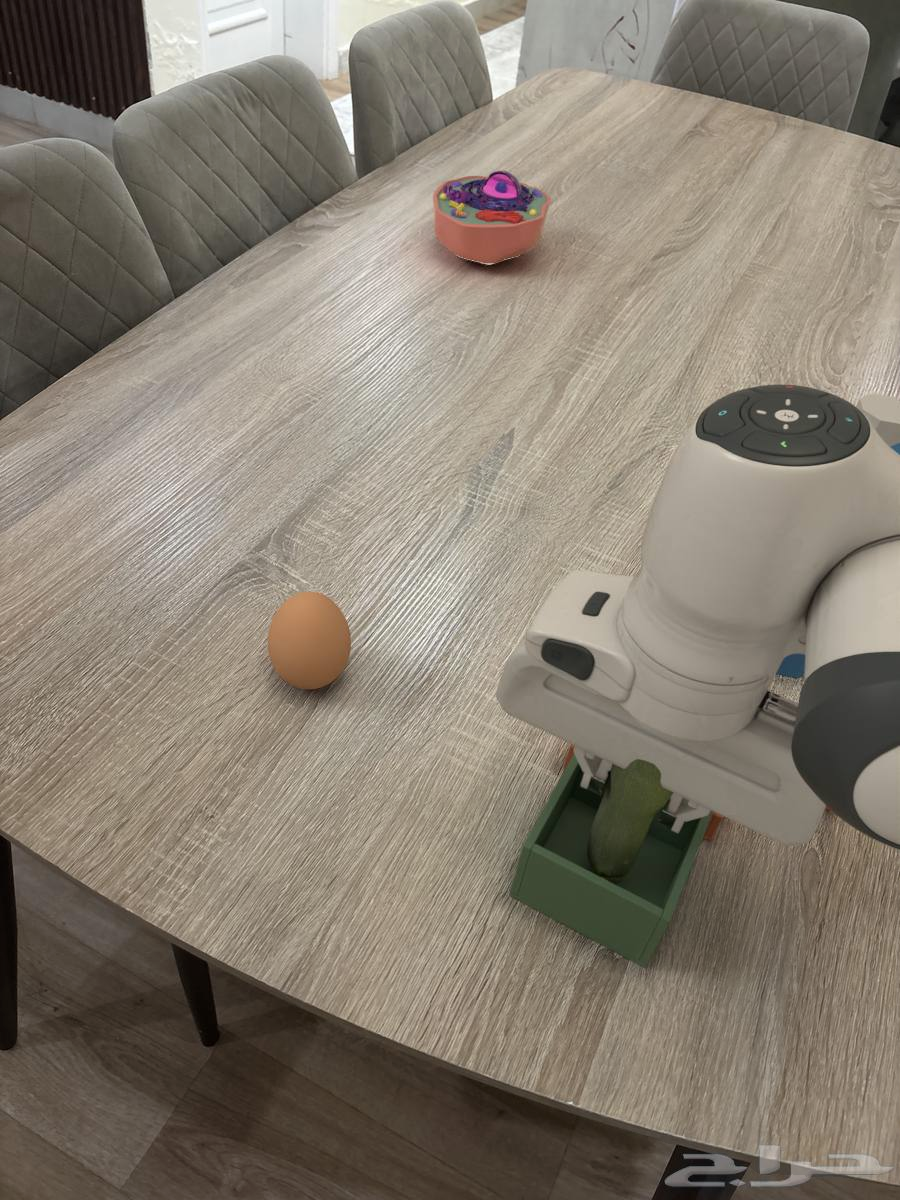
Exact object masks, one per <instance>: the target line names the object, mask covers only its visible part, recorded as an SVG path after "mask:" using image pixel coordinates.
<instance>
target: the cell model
mask: <svg viewBox="0 0 900 1200" xmlns="http://www.w3.org/2000/svg"><path fill="white" fill-rule="evenodd" d="M432 201H433V202H432V209H433V218H434V223H433V224H434V226H433V227H434V234H435V236H436V238H437V240H438V241H439V242H440V243H441V244H442V245H443V246H444V247H445V248H446V249H447V250H448V251H449V252H451V253H452V254H453V253H454V254H456V255H458V256H460V257H463V258H466V259H470V260H474V261H479V262H483V263H497V262H500V261H502V260H504V259H508V258H512V257H516V256H519V255H522V254H524V253H526V254H527V253H529V252H530V251H531V250H533V248H535V247H536V246H537V245H538V244H539V243H540V240H541V238H542V233H543V230H544V227H545V222H546V218H547V215H548V211H549V209H550V205H551V203H552V202H551V197H550V196H549V195H548V194H547V193H546V192H545V191H543V190H542V189H541V188H538V187H536V186H534V185H531V184H527V183H523V182H520V181H519V179H518V178H517V177H516V176H515V175H514V174H512V173H511V172H509V171H507V170H495V171H493V172H491V173H490V174H489V175H488V176H483V175H466V176H464V177H458V178H456V179H455V178H454V179H451V180H445V181H444V182H442V183H441V184H440V185H439V186H438V187H437V188H436V189H435V191H434V192H433V195H432ZM454 254H453V255H454ZM456 255H455V256H456ZM524 255H525V254H524ZM466 261H468V260H466ZM468 262H469V261H468ZM470 262H472V261H470ZM472 263H473V262H472ZM474 263H476V262H474ZM476 264H477V263H476ZM485 266H486V267H488V266H487V265H485Z"/></svg>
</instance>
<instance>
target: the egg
mask: <svg viewBox="0 0 900 1200" xmlns="http://www.w3.org/2000/svg"><path fill="white" fill-rule="evenodd" d="M351 649H352V635H351V630H350V626H349V623H348V620H347V619H346V617H345V614H344V613H343V612H342V610H341V608H340V607H339V606H338V605H337V603H335V602H334V601H333V599H331V598H330V597H329V596H327V595H326V594H323V593H320V592H317V591H301V592H299V593H295V594H293V595H292V596H290V597H288V598H287V599H285V601H284V602H283V603H282V604H281V605H280V606H279V607H278V609H277V610H276V612H275V614H274V616H273V617H272V619H271V621H270V624H269V627H268V634H267V653H268V657H269V660H270V663H271V665H272V668H273V669H274V671H275V672H276V674H277V675H278V676H279V677H280V678H281V679H282V680H283V681H285V682H286V683H288V684H289V685H290V686H292V687H295V688H297V689H302V690H317V689H320V688H323V687H325V686H328V685H329V684H331V683H332V682H334V681H335V680H336V679H337V678H338V677H339V676H340V675H341V674H342V673H343V671H344V670H345V668H346V666H347V664H348V662H349V658H350V655H351Z"/></svg>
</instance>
